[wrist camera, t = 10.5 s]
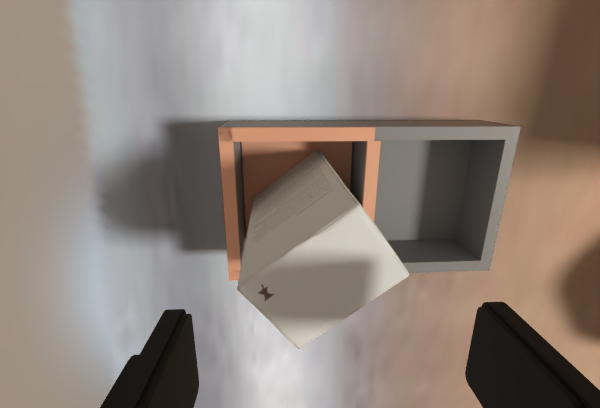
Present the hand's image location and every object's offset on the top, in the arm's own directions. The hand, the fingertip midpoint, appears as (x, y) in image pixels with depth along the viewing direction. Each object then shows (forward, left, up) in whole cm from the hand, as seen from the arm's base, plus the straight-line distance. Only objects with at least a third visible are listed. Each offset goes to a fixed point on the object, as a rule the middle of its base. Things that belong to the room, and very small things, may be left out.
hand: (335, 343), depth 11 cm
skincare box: (0, 0, -15) cm, 15 cm away
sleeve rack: (-4, -1, -16) cm, 16 cm away
